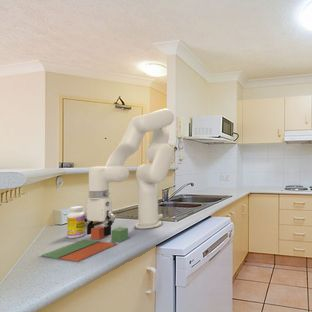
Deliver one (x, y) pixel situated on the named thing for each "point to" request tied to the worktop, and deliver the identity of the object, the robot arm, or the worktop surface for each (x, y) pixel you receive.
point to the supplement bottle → (75, 222)
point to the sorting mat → (79, 250)
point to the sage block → (119, 234)
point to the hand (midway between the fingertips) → (99, 234)
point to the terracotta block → (97, 232)
